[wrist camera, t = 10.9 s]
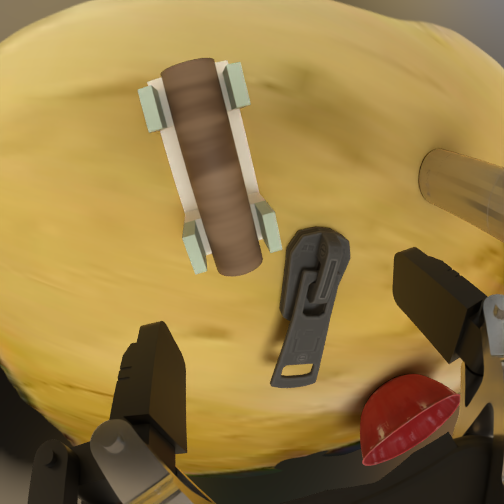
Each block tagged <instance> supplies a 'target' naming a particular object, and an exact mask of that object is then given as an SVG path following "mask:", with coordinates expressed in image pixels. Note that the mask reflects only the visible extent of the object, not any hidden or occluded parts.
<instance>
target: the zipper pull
mask: <svg viewBox="0 0 504 504" xmlns="http://www.w3.org/2000/svg"><path fill="white" fill-rule="evenodd" d="M349 260H350V246H349V241H348V240H347V239H346V238H345V237H344V236H342V235H341V234H339V233H337V232H335V231H334V230H332V229H330V228H323V227H312V228H307V229H303V230H299V231H298V232H297V233H296V234H295V236H294V237H293V239H292V240H291V242H290V243H289V245H288V246H287V250H286V260H285V269H284V277H283V285H282V293H281V300H280V311H281V313H282V316H283V317H284V318H286V319H287V320H289V321H290V324H289V327H288V331H287V334H286V337H285V340H284V343H283V346H282V349H281V352H280V355H279V358H278V361H277V364H276V366H275V369H274V372H273V375H272V378H271V381H270V384H271V386H272V387H278V388H294V387H301V386H307V385H310V384H313V383H315V382H316V379H317V375H318V371H319V367H320V362H321V358H322V354H323V349H324V345H325V340H326V336H327V331H328V326H329V321H330V317H331V313H332V309H333V305H334V301H335V297H336V293H337V289H338V285H339V283H340V281H341V278H342V276H343V274H344V272H345V269H346V267H347V265H348V263H349ZM297 364H313V366H312V369H311V372H310V373H307V374H303V375H292V376H284V375H281V373H282V369H283V368H284V367H285V366H286V365H297Z"/></svg>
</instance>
